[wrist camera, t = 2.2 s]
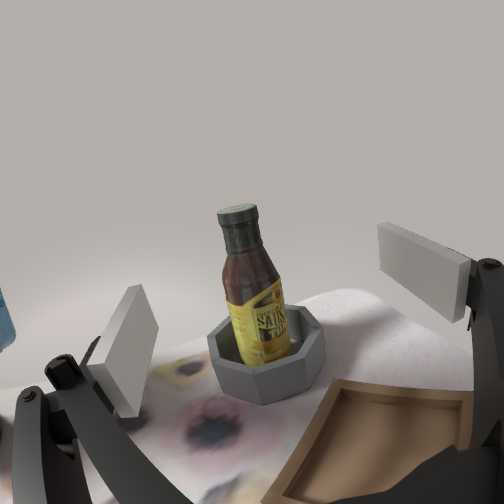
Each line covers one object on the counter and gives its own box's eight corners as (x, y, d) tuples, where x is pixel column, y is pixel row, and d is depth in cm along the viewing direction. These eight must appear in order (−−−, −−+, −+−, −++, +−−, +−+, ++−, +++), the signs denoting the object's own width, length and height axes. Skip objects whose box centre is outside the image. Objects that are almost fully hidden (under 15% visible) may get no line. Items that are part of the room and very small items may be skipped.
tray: (265, 510, 17) (260, 501, 16) (334, 393, 28) (333, 378, 27) (439, 544, 8) (450, 538, 7) (466, 406, 20) (473, 391, 19)
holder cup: (199, 383, 34) (186, 354, 32) (252, 327, 44) (246, 299, 42) (293, 414, 27) (287, 383, 25) (335, 340, 37) (332, 309, 35)
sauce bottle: (278, 387, 31) (239, 217, 24) (235, 373, 35) (189, 220, 28) (303, 352, 36) (277, 198, 29) (262, 344, 40) (229, 202, 33)
